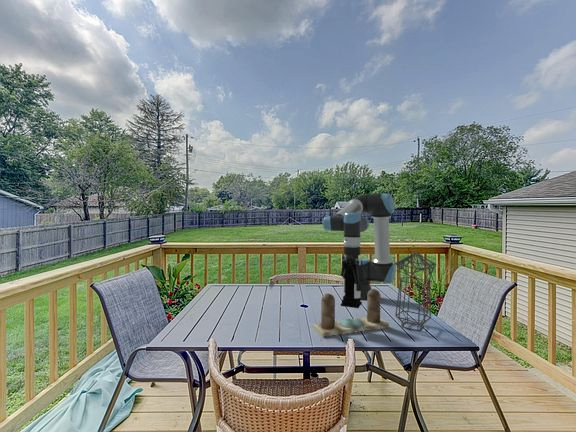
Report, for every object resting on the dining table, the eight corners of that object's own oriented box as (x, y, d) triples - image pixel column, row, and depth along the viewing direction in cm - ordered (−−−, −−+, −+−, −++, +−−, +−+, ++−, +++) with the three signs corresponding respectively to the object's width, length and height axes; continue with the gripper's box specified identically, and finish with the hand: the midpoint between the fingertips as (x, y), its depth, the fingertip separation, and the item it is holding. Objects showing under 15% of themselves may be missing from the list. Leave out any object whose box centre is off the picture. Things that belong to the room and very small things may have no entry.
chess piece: (361, 303, 141) (362, 260, 141) (358, 308, 134) (358, 263, 133) (345, 301, 144) (345, 259, 144) (340, 305, 137) (340, 261, 137)
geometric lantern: (401, 318, 152) (404, 249, 152) (435, 326, 142) (438, 252, 142) (390, 327, 140) (392, 252, 139) (425, 337, 130) (429, 256, 129)
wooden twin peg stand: (375, 319, 150) (375, 285, 150) (389, 327, 140) (390, 291, 139) (312, 328, 139) (312, 291, 139) (323, 337, 128) (323, 298, 128)
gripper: (333, 243, 148) (333, 289, 148) (357, 249, 127) (357, 302, 127) (347, 243, 150) (346, 288, 150) (373, 248, 130) (372, 300, 130)
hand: (351, 294), depth 139 cm, fingers closed on chess piece, 9 cm apart
